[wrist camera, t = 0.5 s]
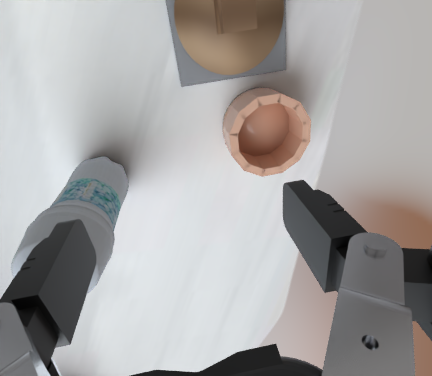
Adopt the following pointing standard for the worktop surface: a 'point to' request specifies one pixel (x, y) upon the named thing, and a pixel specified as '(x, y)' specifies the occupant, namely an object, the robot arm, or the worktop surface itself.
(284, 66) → the felt pad
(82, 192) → the bottle
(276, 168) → the bowl
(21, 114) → the worktop surface
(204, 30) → the lid
